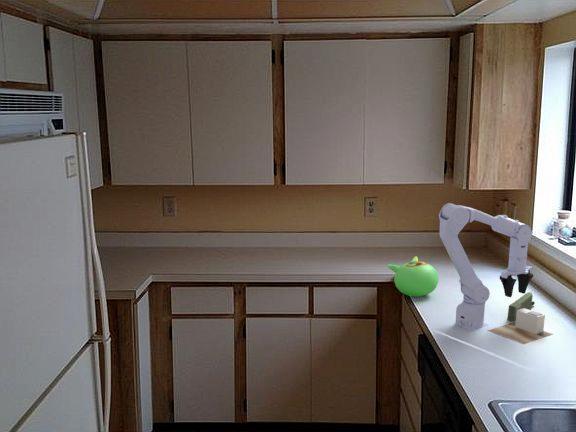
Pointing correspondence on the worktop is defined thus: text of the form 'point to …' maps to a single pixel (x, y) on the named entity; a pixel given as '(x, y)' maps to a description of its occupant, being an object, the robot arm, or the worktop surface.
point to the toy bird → (415, 278)
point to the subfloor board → (518, 333)
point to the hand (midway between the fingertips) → (515, 294)
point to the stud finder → (530, 321)
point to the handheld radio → (520, 306)
